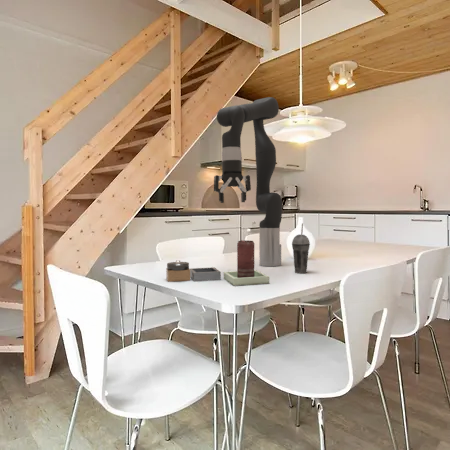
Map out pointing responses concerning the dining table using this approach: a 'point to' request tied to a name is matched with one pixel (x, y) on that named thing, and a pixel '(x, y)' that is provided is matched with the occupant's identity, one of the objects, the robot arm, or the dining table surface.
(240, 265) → the can
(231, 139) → the robot arm
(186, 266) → the brown and grey dock
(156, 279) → the dining table surface
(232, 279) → the tray
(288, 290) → the dining table surface
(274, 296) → the dining table surface
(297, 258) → the beverage cup
